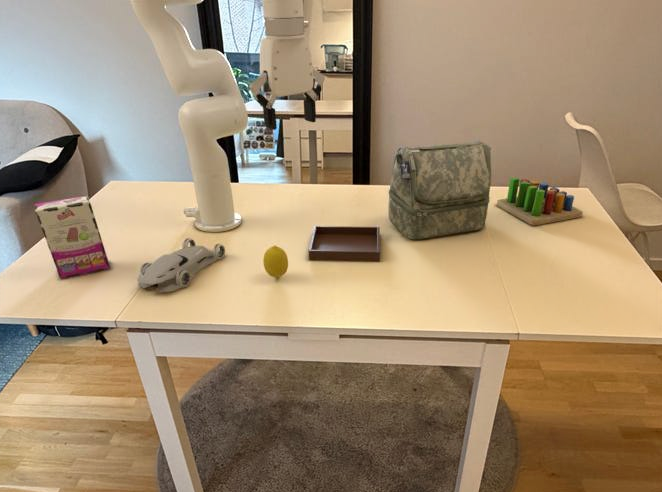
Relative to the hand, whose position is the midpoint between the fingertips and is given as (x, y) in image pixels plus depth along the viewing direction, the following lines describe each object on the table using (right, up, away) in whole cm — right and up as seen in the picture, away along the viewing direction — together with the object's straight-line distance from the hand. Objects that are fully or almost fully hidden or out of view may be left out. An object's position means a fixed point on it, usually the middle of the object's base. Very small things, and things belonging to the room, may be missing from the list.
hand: (291, 124), depth 113 cm
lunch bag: (+36, -12, +37) cm, 53 cm away
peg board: (+67, -6, +46) cm, 81 cm away
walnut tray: (+11, -20, +26) cm, 34 cm away
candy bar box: (-51, -28, +15) cm, 60 cm away
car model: (-28, -28, +15) cm, 42 cm away
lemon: (-5, -30, +13) cm, 33 cm away
